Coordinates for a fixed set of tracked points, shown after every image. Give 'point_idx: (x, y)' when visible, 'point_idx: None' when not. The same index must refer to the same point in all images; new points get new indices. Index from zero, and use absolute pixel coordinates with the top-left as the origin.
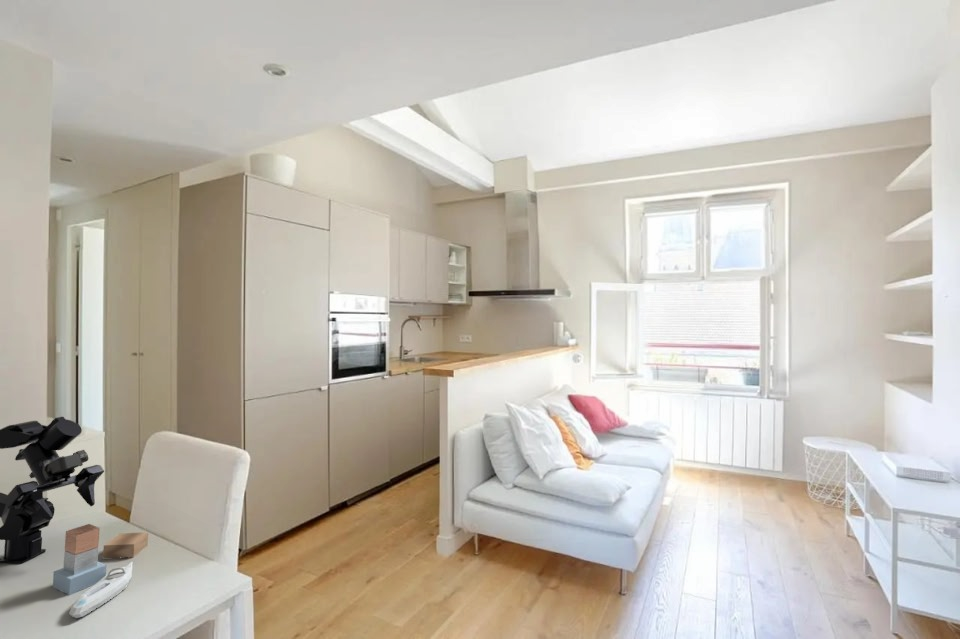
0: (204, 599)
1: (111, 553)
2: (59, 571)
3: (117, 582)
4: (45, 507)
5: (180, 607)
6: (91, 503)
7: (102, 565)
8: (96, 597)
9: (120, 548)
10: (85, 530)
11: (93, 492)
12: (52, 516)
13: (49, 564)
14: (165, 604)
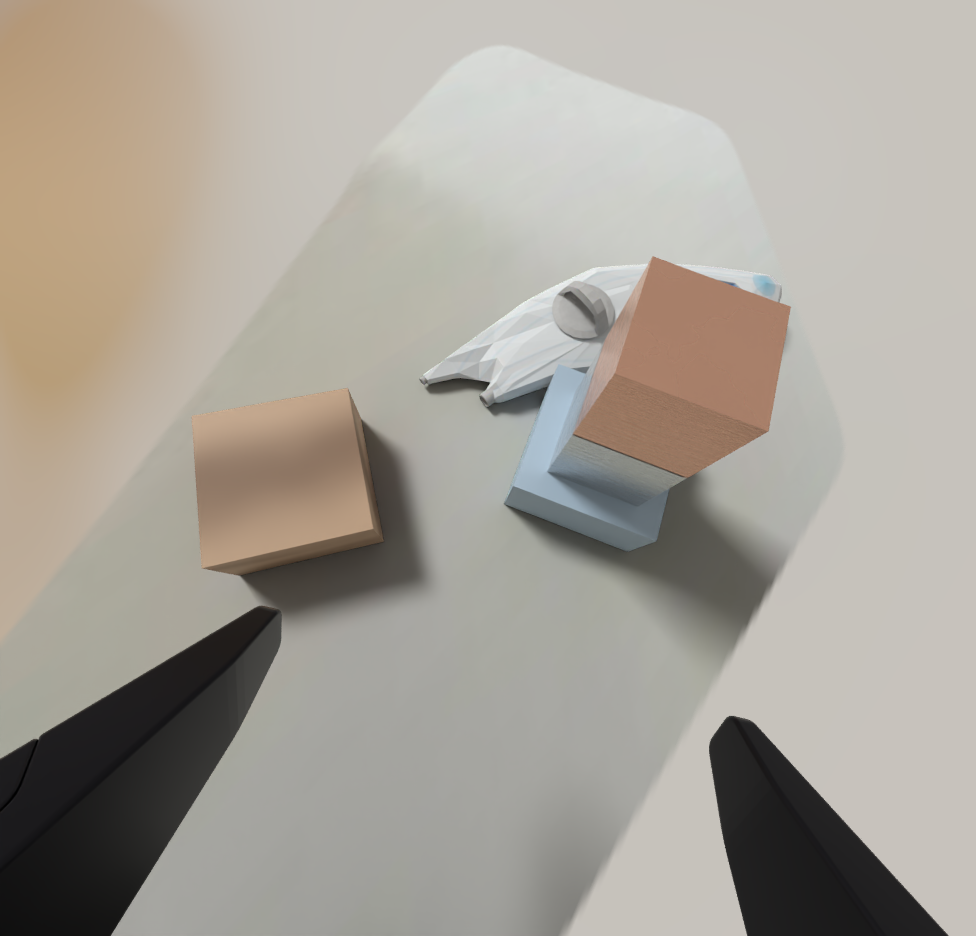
0: (586, 84)
1: (373, 500)
2: (649, 514)
3: (632, 266)
4: (891, 895)
5: (631, 116)
6: (268, 639)
7: (566, 375)
8: (721, 270)
9: (362, 454)
10: (714, 310)
11: (81, 721)
12: (741, 722)
13: (457, 776)
14: (628, 152)
